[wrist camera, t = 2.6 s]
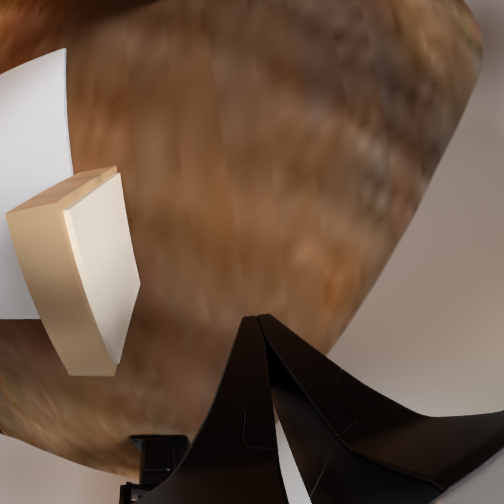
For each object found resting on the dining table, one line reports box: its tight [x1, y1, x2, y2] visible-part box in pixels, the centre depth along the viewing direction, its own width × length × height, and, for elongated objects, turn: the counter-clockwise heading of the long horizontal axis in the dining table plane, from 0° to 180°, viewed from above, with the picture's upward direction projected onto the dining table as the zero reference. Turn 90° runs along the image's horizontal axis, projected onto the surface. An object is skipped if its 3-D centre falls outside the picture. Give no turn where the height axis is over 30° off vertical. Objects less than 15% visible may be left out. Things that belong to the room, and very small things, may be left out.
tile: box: [5, 166, 140, 376], centre depth 13 cm, size 8×3×8 cm, turn 2°
